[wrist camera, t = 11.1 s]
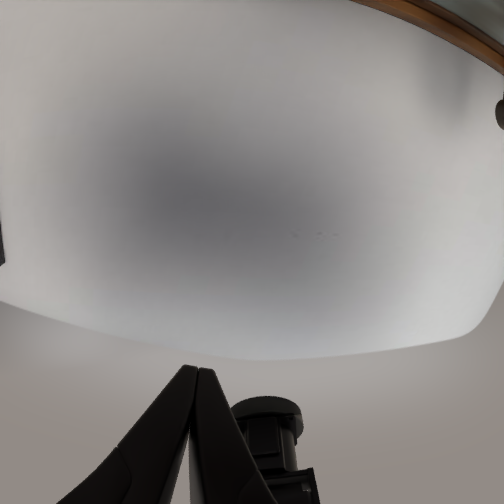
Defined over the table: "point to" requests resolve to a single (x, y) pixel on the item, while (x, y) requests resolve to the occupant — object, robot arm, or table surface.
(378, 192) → the table surface
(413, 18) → the wooden cabinet
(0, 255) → the dark button base
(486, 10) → the dark pull bar
